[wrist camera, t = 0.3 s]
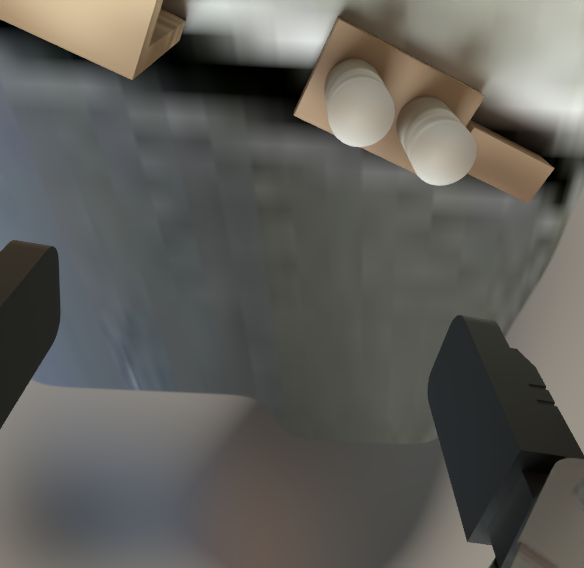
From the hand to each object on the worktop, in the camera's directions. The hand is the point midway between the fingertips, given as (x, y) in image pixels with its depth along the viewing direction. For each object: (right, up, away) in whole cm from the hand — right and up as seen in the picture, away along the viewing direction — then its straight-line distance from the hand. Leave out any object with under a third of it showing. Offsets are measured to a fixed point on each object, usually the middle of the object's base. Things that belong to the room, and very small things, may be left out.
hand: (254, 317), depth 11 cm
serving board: (+9, +11, +25) cm, 29 cm away
